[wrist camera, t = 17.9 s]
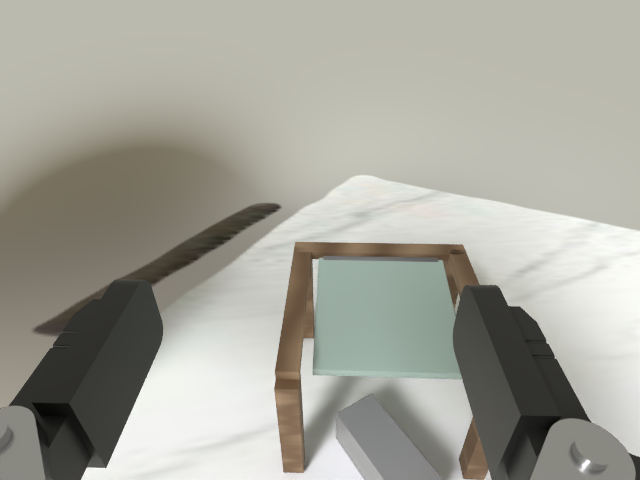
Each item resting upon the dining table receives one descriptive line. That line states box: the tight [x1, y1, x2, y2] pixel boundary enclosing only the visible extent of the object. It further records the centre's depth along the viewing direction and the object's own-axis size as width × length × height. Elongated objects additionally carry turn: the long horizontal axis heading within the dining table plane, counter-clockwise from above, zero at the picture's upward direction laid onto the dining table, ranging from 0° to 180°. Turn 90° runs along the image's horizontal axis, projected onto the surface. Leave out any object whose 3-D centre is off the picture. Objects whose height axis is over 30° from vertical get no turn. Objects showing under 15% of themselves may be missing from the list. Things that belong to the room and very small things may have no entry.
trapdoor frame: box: [274, 242, 489, 480], centre depth 46 cm, size 20×20×14 cm
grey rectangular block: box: [336, 394, 443, 480], centre depth 42 cm, size 4×4×11 cm
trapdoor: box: [313, 256, 462, 379], centre depth 44 cm, size 14×15×1 cm
